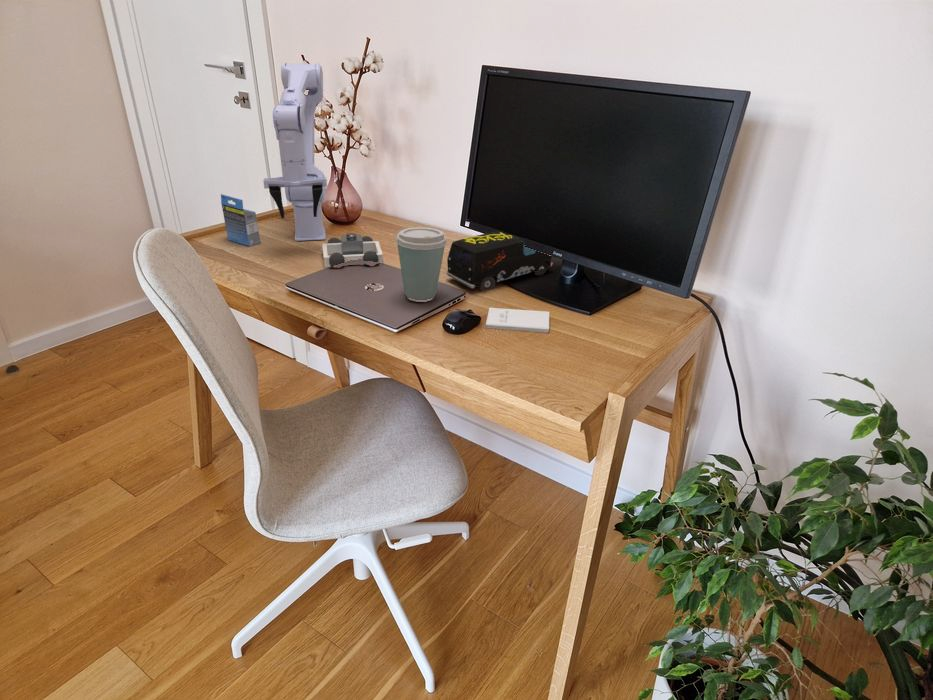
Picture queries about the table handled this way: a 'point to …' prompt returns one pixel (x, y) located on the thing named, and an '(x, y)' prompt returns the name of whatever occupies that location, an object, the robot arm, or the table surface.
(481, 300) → the table surface
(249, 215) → the label tape box
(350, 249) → the engine block
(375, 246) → the chassis
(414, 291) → the disposable coffee cup
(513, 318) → the external hard drive
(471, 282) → the toy van
